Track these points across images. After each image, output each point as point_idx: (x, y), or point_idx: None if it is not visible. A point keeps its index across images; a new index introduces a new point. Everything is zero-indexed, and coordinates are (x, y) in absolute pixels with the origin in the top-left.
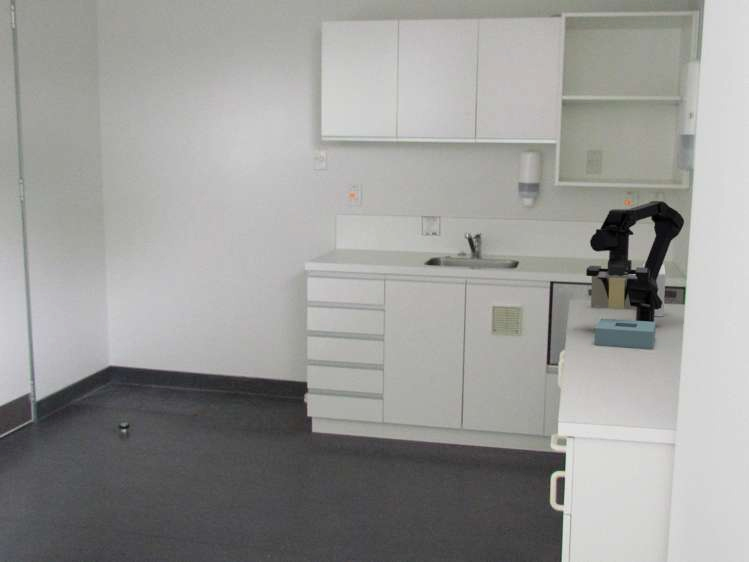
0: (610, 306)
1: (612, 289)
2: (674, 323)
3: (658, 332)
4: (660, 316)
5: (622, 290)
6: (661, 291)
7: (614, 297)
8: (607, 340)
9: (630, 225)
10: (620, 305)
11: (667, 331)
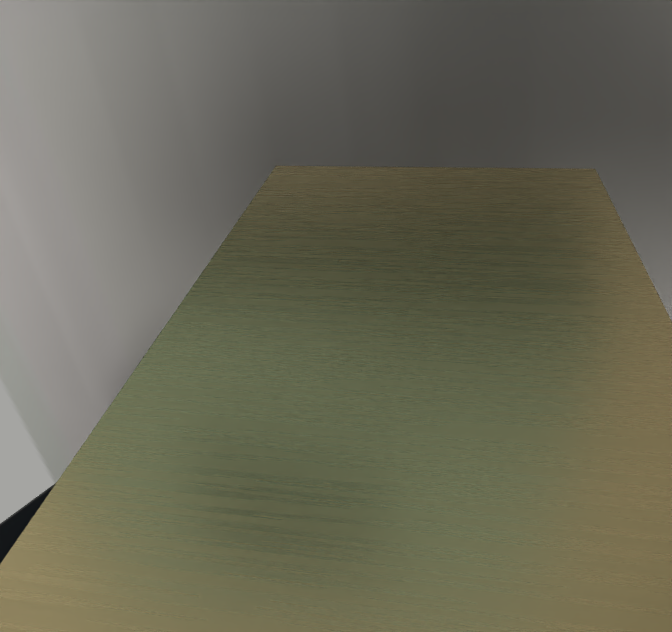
0: (551, 182)
1: (594, 517)
2: None
3: (55, 226)
4: None
5: (149, 452)
6: None
7: (471, 295)
8: None
9: None
10: (327, 191)
11: (15, 288)
